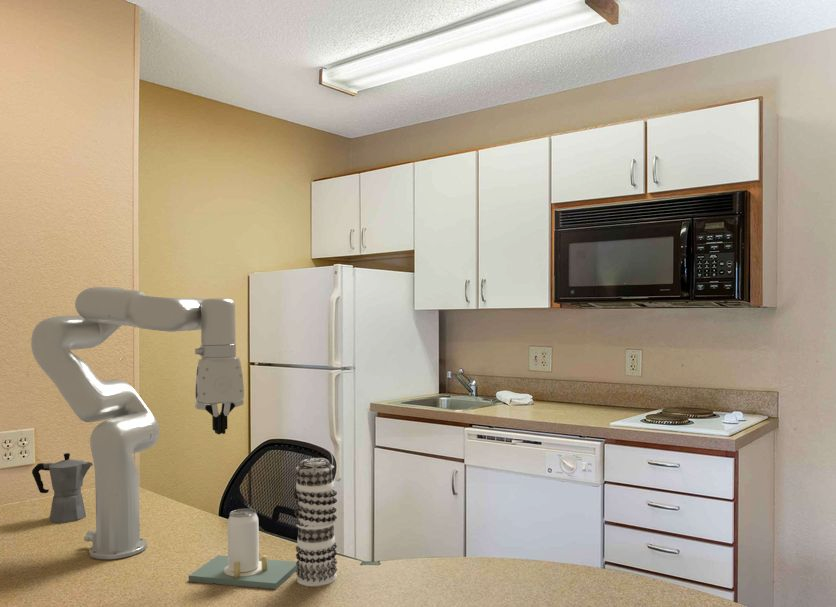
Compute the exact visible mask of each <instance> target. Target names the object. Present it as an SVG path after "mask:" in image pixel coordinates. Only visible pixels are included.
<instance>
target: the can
mask: <svg viewBox="0 0 836 607" xmlns="http://www.w3.org/2000/svg"><path fill="white" fill-rule="evenodd" d="M259 529H260V528H259V516H258V514H257V510H256V509H253V508H238V509H234V510H232V511H230V512H229V517H228V520H227V556H228V568H229V570H230V571H231V572H234V562H240V573H247V572H251V571H254V570H255V569H257V567H258V566H259V547H260V544H259V543H260V534H259V533H260V531H259Z"/></svg>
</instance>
